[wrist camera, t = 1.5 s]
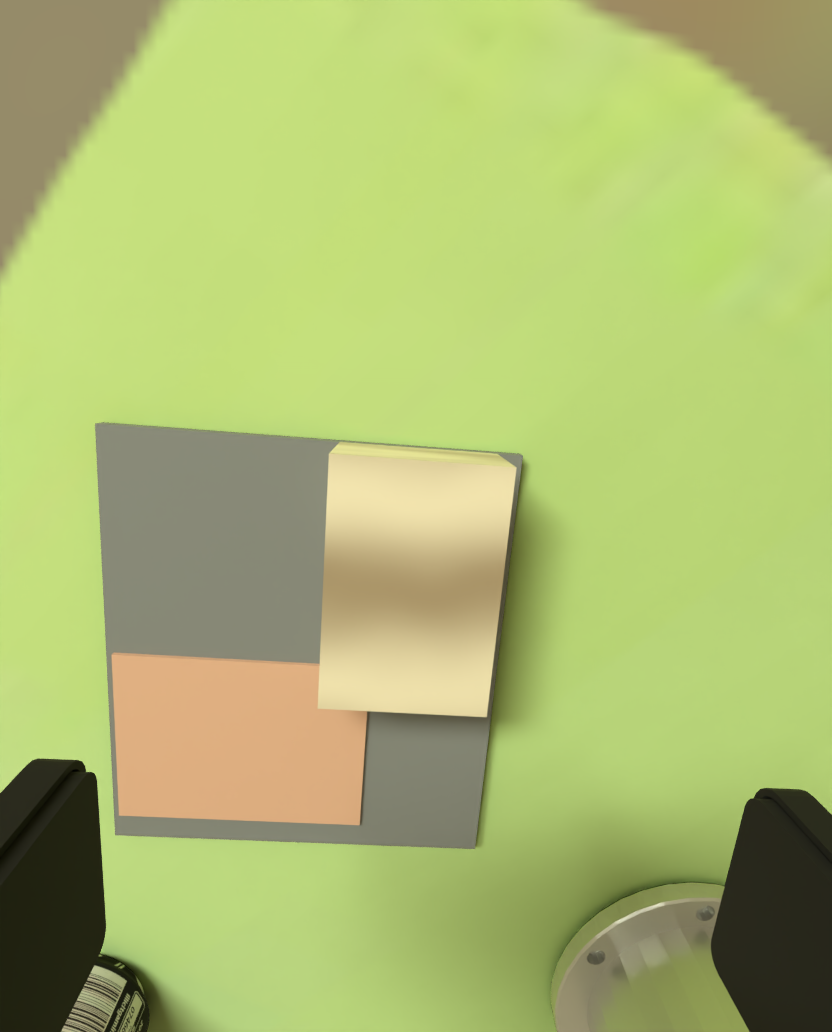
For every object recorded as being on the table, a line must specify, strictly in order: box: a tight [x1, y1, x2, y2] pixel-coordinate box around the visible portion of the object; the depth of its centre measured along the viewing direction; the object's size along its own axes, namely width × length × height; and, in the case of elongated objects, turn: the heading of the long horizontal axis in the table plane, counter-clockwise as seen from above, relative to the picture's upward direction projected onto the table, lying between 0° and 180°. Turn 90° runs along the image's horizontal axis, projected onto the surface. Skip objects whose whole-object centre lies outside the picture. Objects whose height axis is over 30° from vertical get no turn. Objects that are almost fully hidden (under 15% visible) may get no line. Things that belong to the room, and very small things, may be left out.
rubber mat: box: [95, 422, 523, 849], centre depth 24 cm, size 18×16×1 cm
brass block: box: [318, 442, 517, 717], centre depth 21 cm, size 9×6×4 cm, turn 175°
